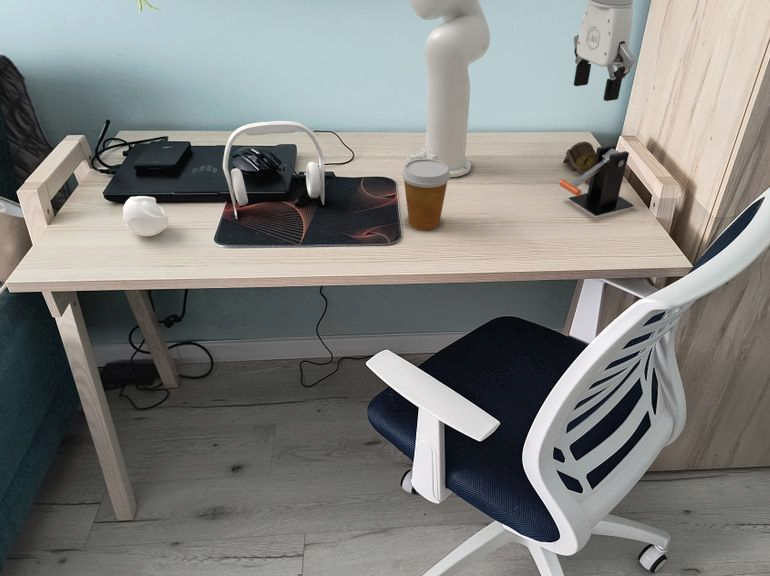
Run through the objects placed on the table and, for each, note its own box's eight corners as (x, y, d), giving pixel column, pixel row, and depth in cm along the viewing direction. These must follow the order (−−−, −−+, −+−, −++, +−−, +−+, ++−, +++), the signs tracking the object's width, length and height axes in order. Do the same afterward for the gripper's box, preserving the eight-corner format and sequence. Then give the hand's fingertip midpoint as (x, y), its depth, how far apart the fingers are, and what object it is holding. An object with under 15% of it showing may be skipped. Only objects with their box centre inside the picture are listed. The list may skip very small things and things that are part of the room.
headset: (323, 194, 139) (318, 112, 128) (330, 209, 134) (325, 124, 123) (229, 204, 134) (214, 119, 122) (232, 220, 129) (217, 133, 117)
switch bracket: (594, 220, 136) (607, 162, 127) (567, 202, 142) (578, 146, 133) (632, 209, 140) (647, 153, 132) (605, 193, 146) (618, 138, 138)
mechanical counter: (609, 146, 154) (570, 133, 153) (617, 162, 143) (575, 149, 142) (597, 174, 158) (559, 162, 157) (603, 192, 147) (562, 179, 146)
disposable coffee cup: (453, 217, 134) (456, 162, 126) (438, 238, 127) (441, 181, 119) (410, 208, 136) (411, 154, 128) (393, 228, 129) (394, 172, 121)
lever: (577, 199, 132) (575, 190, 130) (560, 188, 135) (558, 180, 134) (626, 164, 133) (624, 154, 131) (608, 154, 137) (606, 145, 135)
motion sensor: (175, 238, 122) (166, 201, 117) (134, 247, 119) (123, 210, 114) (164, 220, 127) (155, 184, 122) (124, 229, 124) (113, 192, 119)
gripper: (568, -13, 121) (554, 82, 132) (626, 6, 109) (607, 108, 120) (600, -15, 123) (584, 78, 134) (661, 3, 111) (638, 103, 122)
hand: (595, 92), depth 127 cm, fingers open, 9 cm apart
